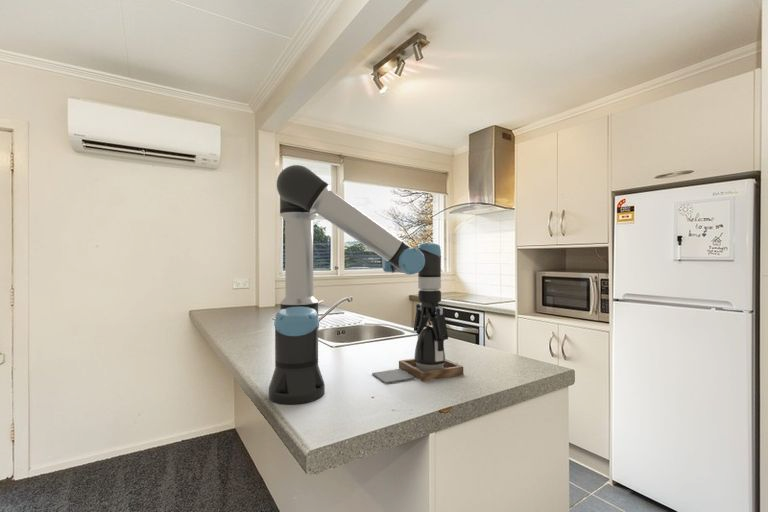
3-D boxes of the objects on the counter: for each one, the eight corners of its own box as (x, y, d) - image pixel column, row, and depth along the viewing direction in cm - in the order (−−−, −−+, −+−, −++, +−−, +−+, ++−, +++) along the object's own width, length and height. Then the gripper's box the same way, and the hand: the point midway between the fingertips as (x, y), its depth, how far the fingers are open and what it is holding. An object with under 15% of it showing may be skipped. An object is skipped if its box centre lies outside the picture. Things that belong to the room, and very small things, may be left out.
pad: (385, 384, 111) (385, 382, 111) (372, 374, 120) (372, 372, 120) (414, 379, 115) (414, 377, 115) (399, 370, 124) (399, 368, 124)
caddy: (422, 381, 113) (422, 373, 113) (398, 368, 127) (398, 360, 127) (463, 374, 120) (463, 366, 120) (436, 362, 134) (436, 355, 134)
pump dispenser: (448, 376, 118) (447, 328, 118) (415, 376, 118) (415, 328, 119) (443, 366, 128) (443, 322, 129) (413, 366, 129) (413, 322, 129)
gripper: (459, 291, 115) (460, 364, 115) (421, 286, 135) (422, 348, 135) (439, 293, 112) (439, 367, 112) (403, 287, 132) (404, 350, 132)
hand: (430, 356), depth 123 cm, fingers closed on pump dispenser, 10 cm apart
